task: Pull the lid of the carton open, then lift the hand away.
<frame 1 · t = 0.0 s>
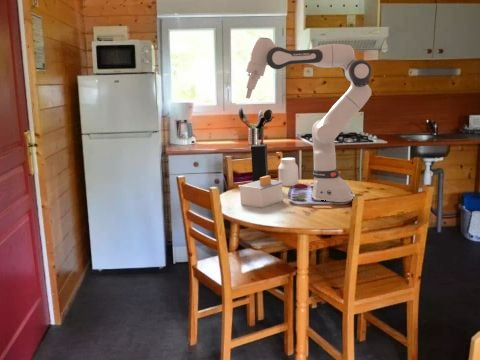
hand: (247, 98, 237), 52 cm above the table, tool tilted 20°, fingers open, 8 cm apart
black tall block: (261, 188, 272), on the table
lid: (260, 180, 237), point 11 cm above the table, slide at 0.0 cm
carton: (261, 202, 240), on the table
jar: (288, 184, 280), on the table
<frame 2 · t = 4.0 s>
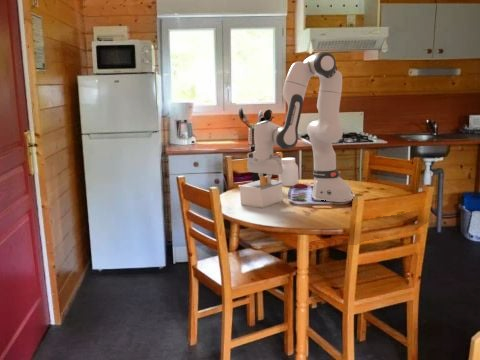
hand: (265, 182, 235), 11 cm above the table, tool pointing down, fingers closed on lid, 2 cm apart
lid: (260, 180, 237), point 11 cm above the table, slide at 0.0 cm, touching gripper
everything else where it was.
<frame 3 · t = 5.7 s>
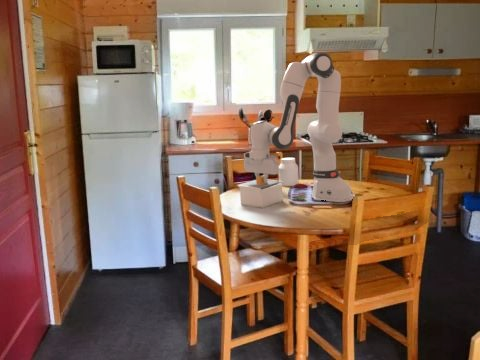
hand: (261, 181, 237), 11 cm above the table, tool pointing down, fingers closed on lid, 2 cm apart
lid: (257, 180, 239), point 11 cm above the table, slide at 2.3 cm, touching gripper
everything else where it was.
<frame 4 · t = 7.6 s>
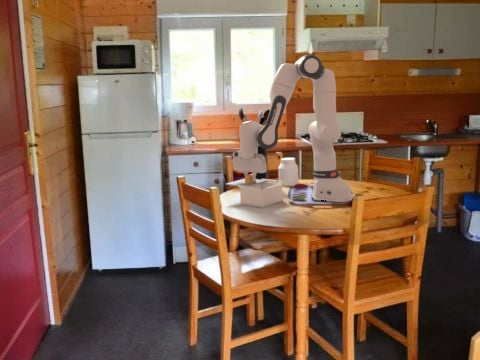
hand: (250, 180, 242), 11 cm above the table, tool pointing down, fingers closed on lid, 2 cm apart
lid: (246, 178, 244), point 11 cm above the table, slide at 10.0 cm, touching gripper
everything else where it was.
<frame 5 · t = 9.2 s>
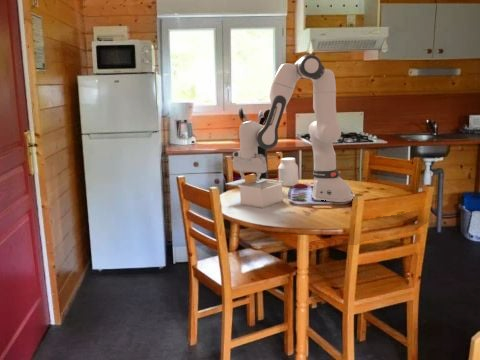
hand: (250, 180, 242), 11 cm above the table, tool pointing down, fingers open, 8 cm apart
lid: (246, 178, 244), point 11 cm above the table, slide at 10.0 cm
everything else where it was.
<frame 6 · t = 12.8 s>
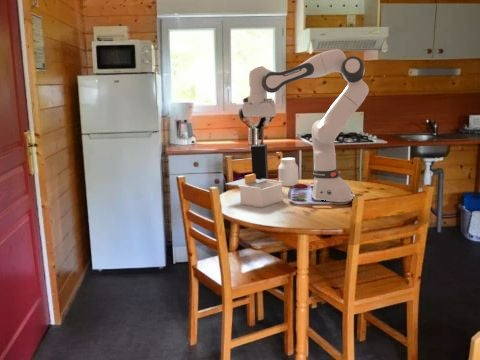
hand: (259, 125, 251), 37 cm above the table, tool pointing down, fingers open, 8 cm apart
nothing on the table moved.
at the end: lid slide at 10.0 cm; the gripper is holding nothing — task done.
